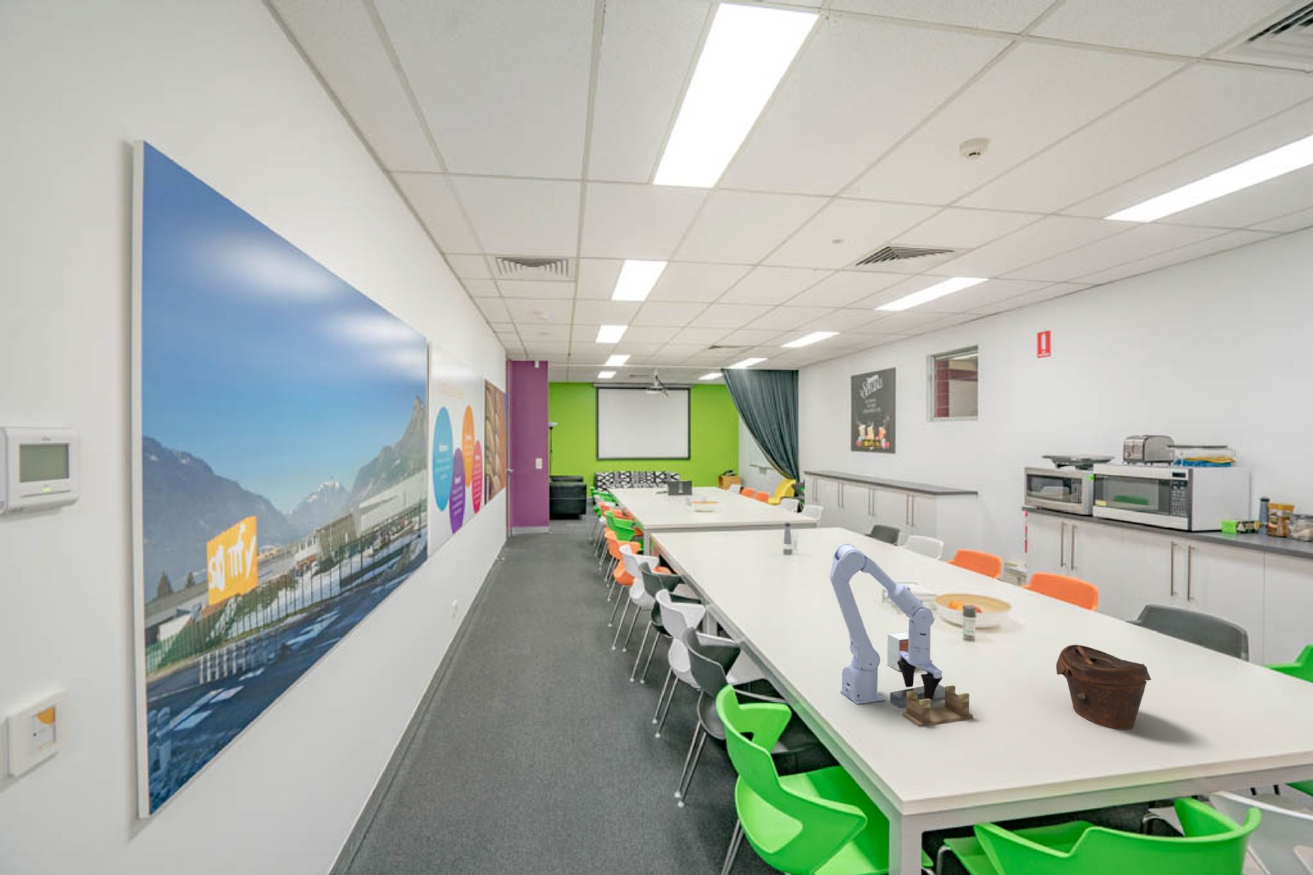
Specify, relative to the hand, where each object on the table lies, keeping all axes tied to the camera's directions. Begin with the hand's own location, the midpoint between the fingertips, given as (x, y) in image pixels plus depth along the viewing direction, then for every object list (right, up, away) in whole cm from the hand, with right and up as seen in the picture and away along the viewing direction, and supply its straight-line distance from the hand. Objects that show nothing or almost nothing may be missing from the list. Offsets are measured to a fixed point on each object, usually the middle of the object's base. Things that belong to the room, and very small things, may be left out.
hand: (918, 692), depth 151 cm
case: (+47, -3, -7) cm, 47 cm away
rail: (0, -3, 0) cm, 3 cm away
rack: (+1, -2, -9) cm, 9 cm away
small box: (+6, -3, +23) cm, 23 cm away
